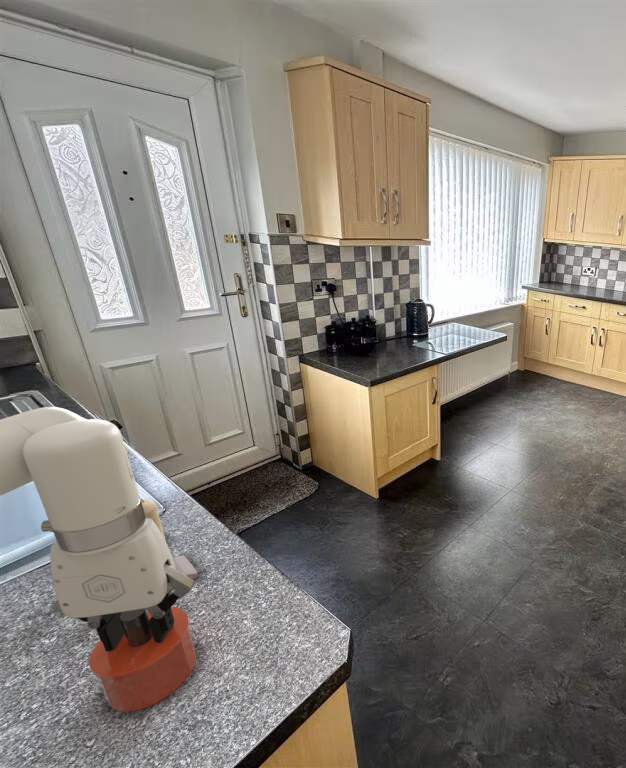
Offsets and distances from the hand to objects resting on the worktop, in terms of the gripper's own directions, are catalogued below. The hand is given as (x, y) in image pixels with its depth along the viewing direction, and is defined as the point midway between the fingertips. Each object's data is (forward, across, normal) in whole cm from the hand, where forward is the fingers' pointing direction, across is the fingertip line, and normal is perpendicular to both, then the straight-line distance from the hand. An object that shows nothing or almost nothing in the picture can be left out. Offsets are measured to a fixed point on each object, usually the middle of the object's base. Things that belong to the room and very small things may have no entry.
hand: (140, 636), depth 55 cm
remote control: (+8, -8, +17) cm, 20 cm away
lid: (+1, 0, 0) cm, 1 cm away
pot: (+7, 0, 0) cm, 7 cm away
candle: (+8, -13, +28) cm, 32 cm away
